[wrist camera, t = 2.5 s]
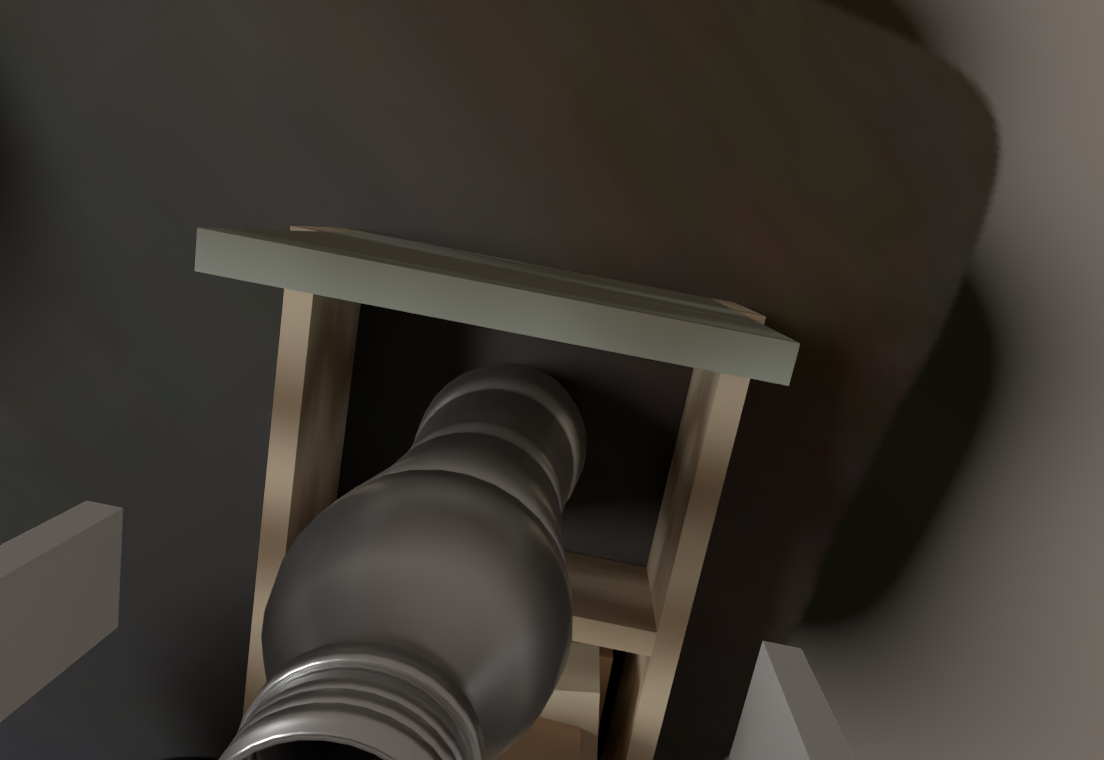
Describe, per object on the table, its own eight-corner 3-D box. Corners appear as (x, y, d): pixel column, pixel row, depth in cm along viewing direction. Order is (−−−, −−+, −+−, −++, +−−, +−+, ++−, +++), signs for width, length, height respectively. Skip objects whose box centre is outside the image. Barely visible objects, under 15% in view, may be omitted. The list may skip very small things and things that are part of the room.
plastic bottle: (619, 437, 28) (676, 884, 9) (499, 530, 29) (312, 1107, 10) (520, 320, 27) (337, 519, 8) (401, 421, 29) (-13, 810, 9)
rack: (613, 797, 32) (624, 1122, 20) (287, 729, 32) (112, 1010, 20) (734, 302, 27) (844, 351, 15) (345, 228, 27) (155, 219, 15)
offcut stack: (586, 756, 32) (583, 955, 23) (336, 709, 32) (238, 888, 23) (617, 607, 30) (626, 760, 21) (352, 559, 30) (253, 690, 22)
